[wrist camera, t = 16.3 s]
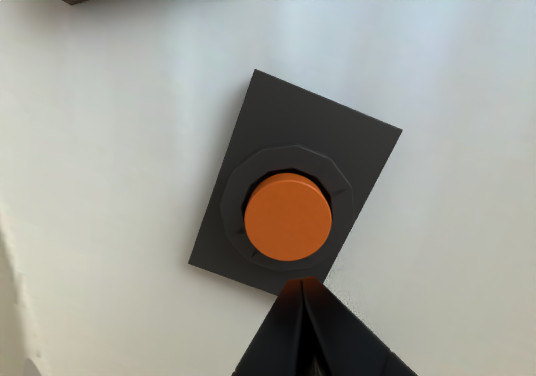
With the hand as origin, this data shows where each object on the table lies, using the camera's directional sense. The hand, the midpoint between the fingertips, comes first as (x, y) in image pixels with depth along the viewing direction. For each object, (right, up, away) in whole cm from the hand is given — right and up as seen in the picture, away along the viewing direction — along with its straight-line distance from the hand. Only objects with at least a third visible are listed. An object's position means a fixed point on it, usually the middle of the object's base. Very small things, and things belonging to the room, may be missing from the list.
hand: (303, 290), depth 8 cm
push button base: (0, +3, +10) cm, 10 cm away
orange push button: (0, +2, +7) cm, 7 cm away
